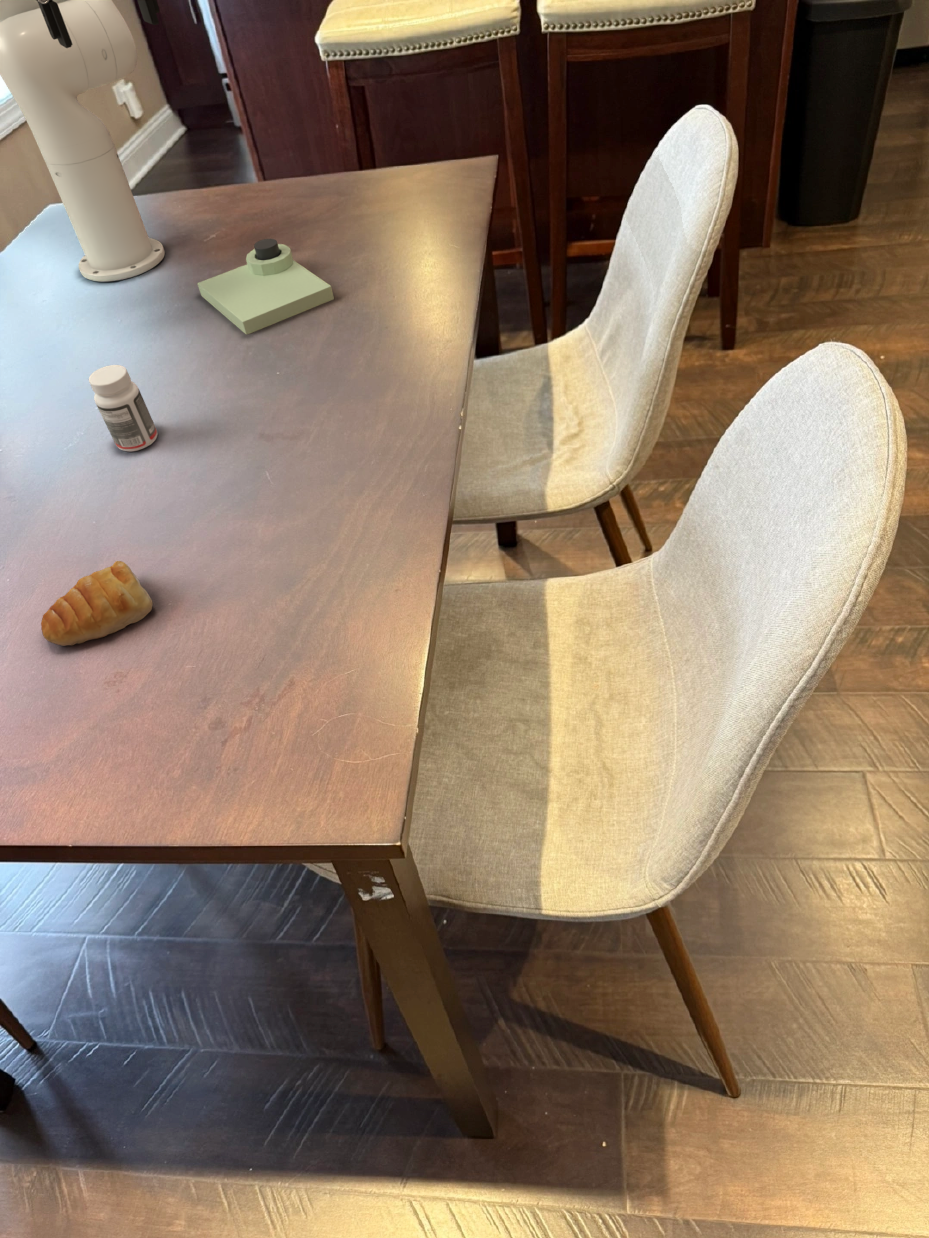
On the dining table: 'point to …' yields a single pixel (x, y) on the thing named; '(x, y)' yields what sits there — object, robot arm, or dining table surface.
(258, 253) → the button
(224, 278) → the green button base
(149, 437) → the pill bottle
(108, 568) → the pastry
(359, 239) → the dining table surface
